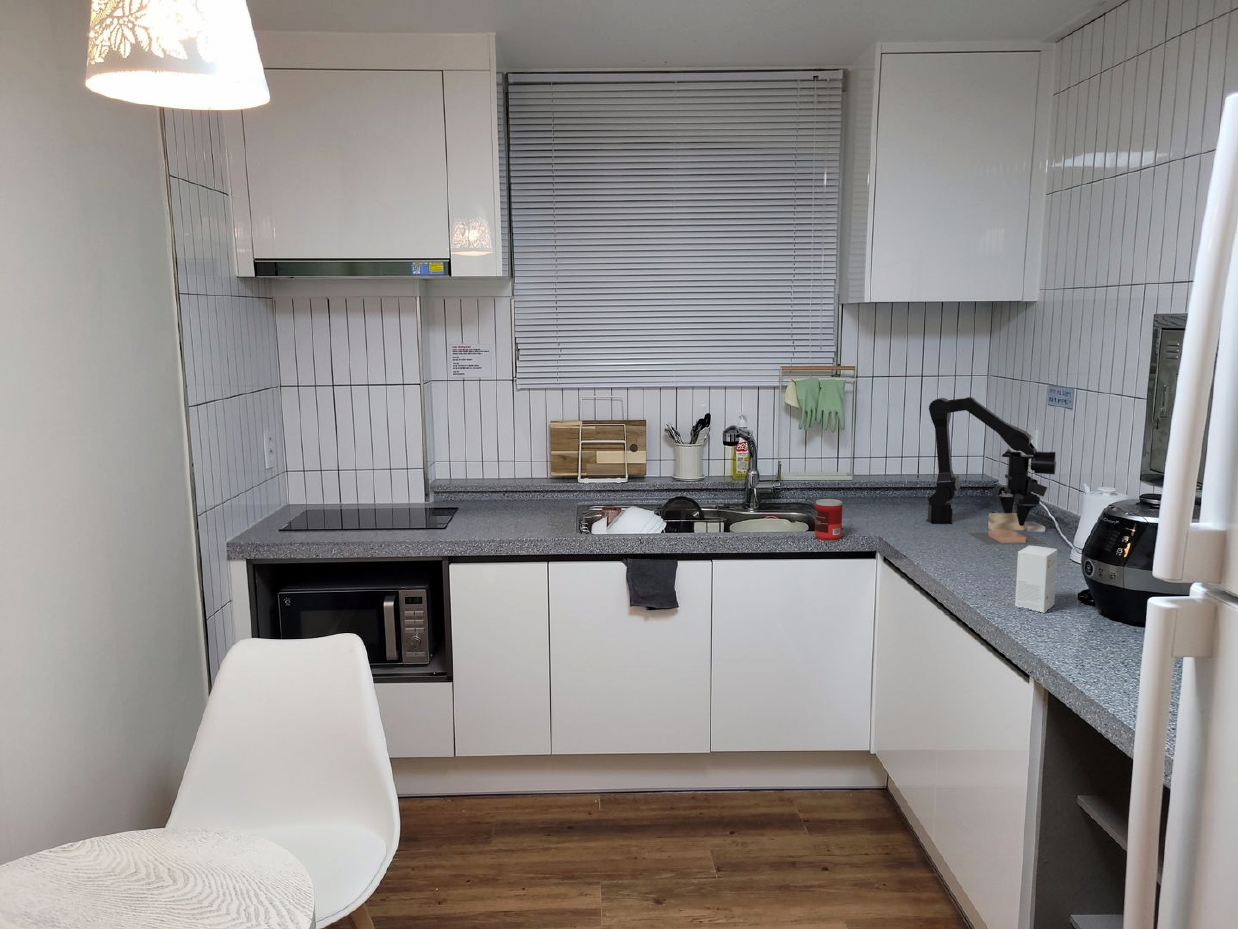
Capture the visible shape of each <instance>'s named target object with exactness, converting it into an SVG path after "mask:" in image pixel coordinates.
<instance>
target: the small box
mask: <svg viewBox="0 0 1238 929" xmlns="http://www.w3.org/2000/svg"><path fill="white" fill-rule="evenodd" d="M1016 560H1017V562H1016V564H1017V565H1016V579H1015V580H1016V581H1015V598H1014V602H1015V604H1014V607H1015V606H1017V607H1024V608H1029V609H1032V610H1036V611H1040V612H1043V613H1044V614H1045V613H1046V612H1047V610H1048V609H1049V610H1050V609H1051V608H1053V607H1054V606H1055V598H1056V597H1055V596H1056V582H1057V580H1056V579H1057V566H1058V564H1057V563H1058V548H1053V547H1052V548H1051V547H1046V546H1040V545H1039V546H1037V545H1032V544H1028V545H1026V547H1024V548H1022V549H1020V550H1019V551H1017V559H1016ZM1053 605H1054V606H1053ZM1049 610H1048V611H1049ZM1043 613H1042V614H1043Z"/></svg>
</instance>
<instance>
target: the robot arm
mask: <svg viewBox="0 0 1238 929" xmlns="http://www.w3.org/2000/svg"><path fill="white" fill-rule="evenodd" d="M928 411H929V415H930V418H931V422H932V424H933V426H934V431H935V442H936V454H937V456H936V457H937V468H938V472H937V479H936V485H935V493H933V494H932V495H931V496H929V497H928V498H927V501H928V502H927V503H928V504H927V505H928V506H927V507H928V508H927V518H925V521H926V522H927V523H930V524H931V525H953V511H954V510H953V508H952V504H951V503H950V501H951V500H952V499H953V498H954V497H956V495H957V494H958V493H959V489H960V488H961V486H960V481H959V480H960V475H959V474H958V475H955V474H954V471H953V465H952V464H953V462H952V452H951V451H952V450H951V439H950V422H951V418H952V413H957V412H962V411H963V412H964V411H966V412H968V413H969V414H971V415H972V416H974V417H975V418H976V419H977V420H979V421H981V422H982V423H983V424H985V425H986V426H987V427H988V428H990V429H991V430H993V431H994V432H996V433H997V434H998V436H1000V438H1001V439H1002V440H1003V441H1004V442H1005V443H1006V444H1007V445H1008V447H1009V448H1008V449H1006V450H1005V452H1003V453H1002V454H1001V457H1002V458H1008V464H1007V466H1008V467H1007V473H1005V474H1004V478H1005V479H1007V483H1006V484H1005V485H1004V484H1003V485H1002V484H998V485H996V486H995V487H994V495H996V499H997V500H998V502H999V504H1000V506H1001V509H1002V511H1003V512H1002V513H1013V509H1014V510H1015V513H1016V514H1017V518H1018V522H1019V525H1020V526H1023V525H1024V523H1025V522H1027V521H1026V520H1027V518H1028V515H1029V513H1030V511H1031V510H1032V509H1033V508H1036V507H1037V506H1038V505H1041V504H1040V503H1041V502H1040V501H1041V498H1040V497H1043V498H1044V496H1045V494H1046V492H1047V489H1048V487H1047V486H1045V485H1043V484H1040V483H1039V482H1038V480H1037V479H1034V478H1032V476H1030V475H1029V469H1030V470H1031V471H1033V473H1034V474H1040V475H1056V468H1057V460H1056V459H1057V458H1056V457H1057V456H1056V455H1057V453H1056V451H1040V450H1039V451H1038V449H1037V448H1036V447H1035V445H1034V444H1033V443H1032V437H1031V435H1030V433H1029V432H1027V431H1026V430H1024V429H1022V428H1019V427H1017V426H1015V425H1013V424H1010V423H1008V422H1006V421H1005V420H1003V418H1001V417H999V415H996V414H995V413H994V412H992V411H991V410H990V409H988V408H987V407H985V406H984V405H983V404H981V403H980V402H978V401H977V400H976V399H975V398H974V397H972V396H968V397H964V398H954V399H948V398H945V397H939V398H936V399H934V400H932V401H931V402H930V404H929V405H928ZM1010 448H1011V449H1010ZM1012 450H1013V451H1012ZM1022 453H1023V454H1022ZM1029 466H1030V468H1029ZM1039 496H1040V497H1039Z"/></svg>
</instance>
